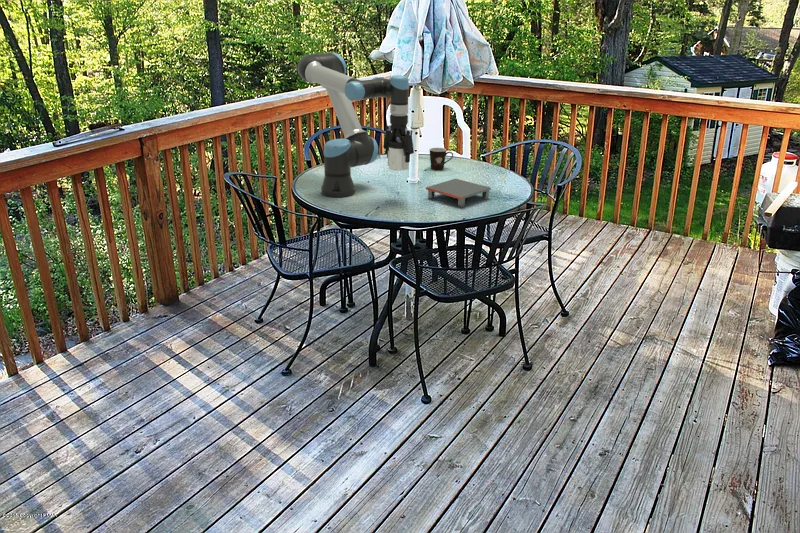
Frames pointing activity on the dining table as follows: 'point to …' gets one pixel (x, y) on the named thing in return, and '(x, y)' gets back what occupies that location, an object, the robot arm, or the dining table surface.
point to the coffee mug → (438, 158)
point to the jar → (396, 155)
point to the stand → (458, 190)
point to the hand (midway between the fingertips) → (398, 167)
